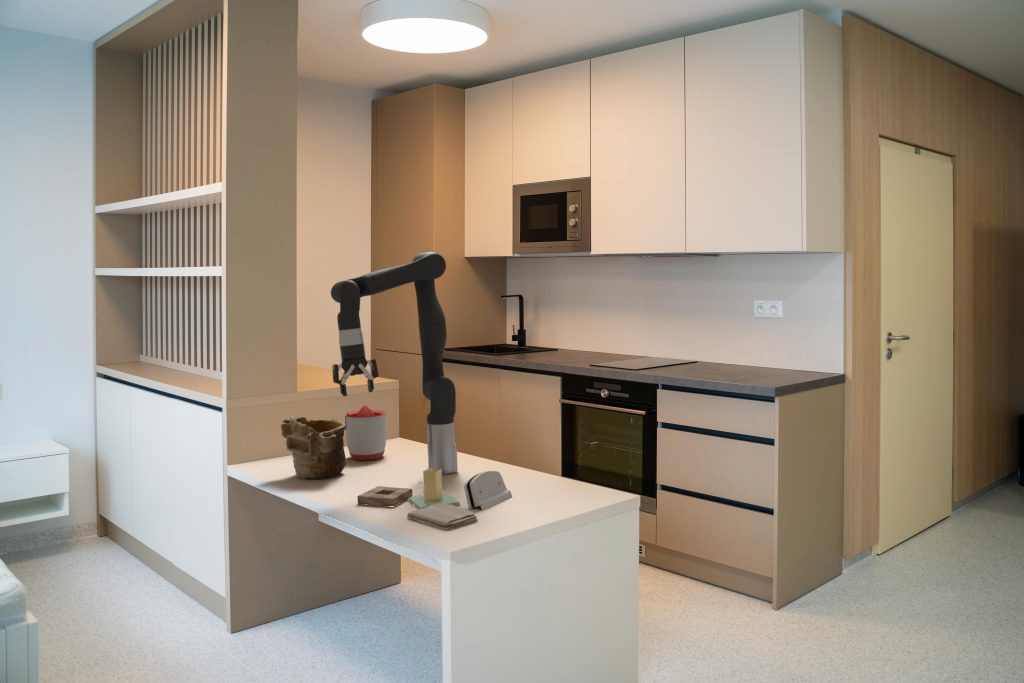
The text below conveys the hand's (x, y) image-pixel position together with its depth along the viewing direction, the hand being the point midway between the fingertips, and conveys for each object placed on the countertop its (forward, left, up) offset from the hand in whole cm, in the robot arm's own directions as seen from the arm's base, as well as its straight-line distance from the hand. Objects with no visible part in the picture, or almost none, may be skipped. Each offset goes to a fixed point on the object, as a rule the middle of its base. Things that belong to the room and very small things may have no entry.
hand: (358, 394), depth 262 cm
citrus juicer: (-12, -45, -31) cm, 56 cm away
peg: (-15, +28, -30) cm, 43 cm away
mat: (-15, +28, -31) cm, 44 cm away
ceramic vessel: (+8, -24, -31) cm, 40 cm away
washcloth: (-12, +45, -31) cm, 56 cm away
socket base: (-3, +18, -31) cm, 36 cm away
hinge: (-29, +35, -31) cm, 55 cm away
